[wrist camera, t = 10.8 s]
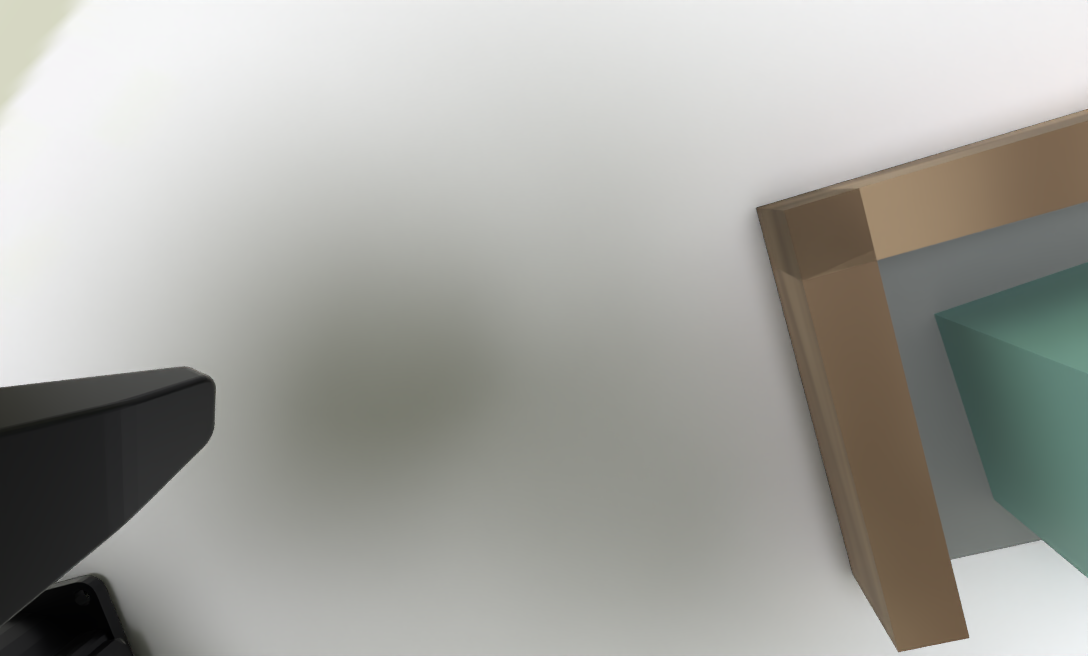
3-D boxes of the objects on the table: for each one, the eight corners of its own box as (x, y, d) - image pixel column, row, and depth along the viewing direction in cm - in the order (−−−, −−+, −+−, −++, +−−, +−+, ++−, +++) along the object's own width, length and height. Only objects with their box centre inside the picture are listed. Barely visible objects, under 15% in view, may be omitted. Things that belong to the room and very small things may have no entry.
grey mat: (930, 557, 20) (935, 563, 20) (857, 262, 19) (860, 263, 18) (1269, 484, 19) (1278, 488, 18) (1210, 163, 18) (1220, 163, 17)
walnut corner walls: (852, 574, 20) (898, 652, 17) (755, 208, 19) (784, 210, 15) (1269, 484, 19) (1412, 549, 15) (1194, 77, 17) (1333, 47, 14)
